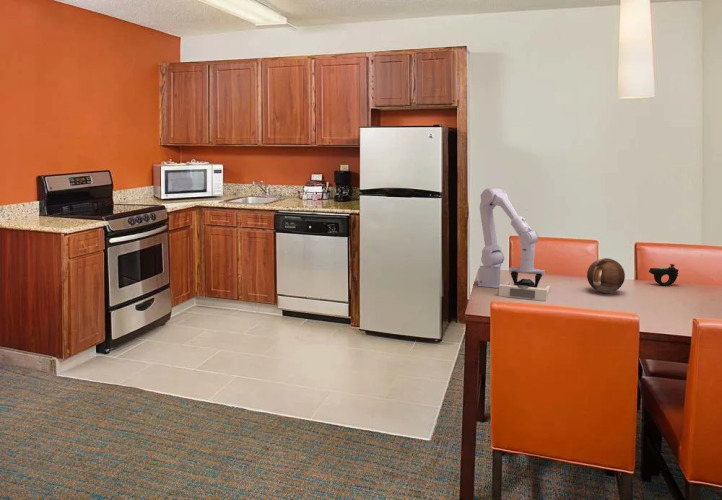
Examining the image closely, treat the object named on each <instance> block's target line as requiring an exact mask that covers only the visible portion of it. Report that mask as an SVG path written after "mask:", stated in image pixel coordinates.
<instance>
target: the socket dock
mask: <svg viewBox="0 0 722 500" xmlns="http://www.w3.org/2000/svg"><path fill="white" fill-rule="evenodd" d="M510 283H511V282H510V281H505V283H502V284H500V285H499V288H498V296H499V297H505V298H515V299H526V300H531V301H532V300H533V301H541V302H547V300H548V298H549V295H550V294H551V286H552V285H546V287H545V288H544V287H537V288H535V287H528V286H526V285H518V286H515V285H514V284H510Z"/></svg>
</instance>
